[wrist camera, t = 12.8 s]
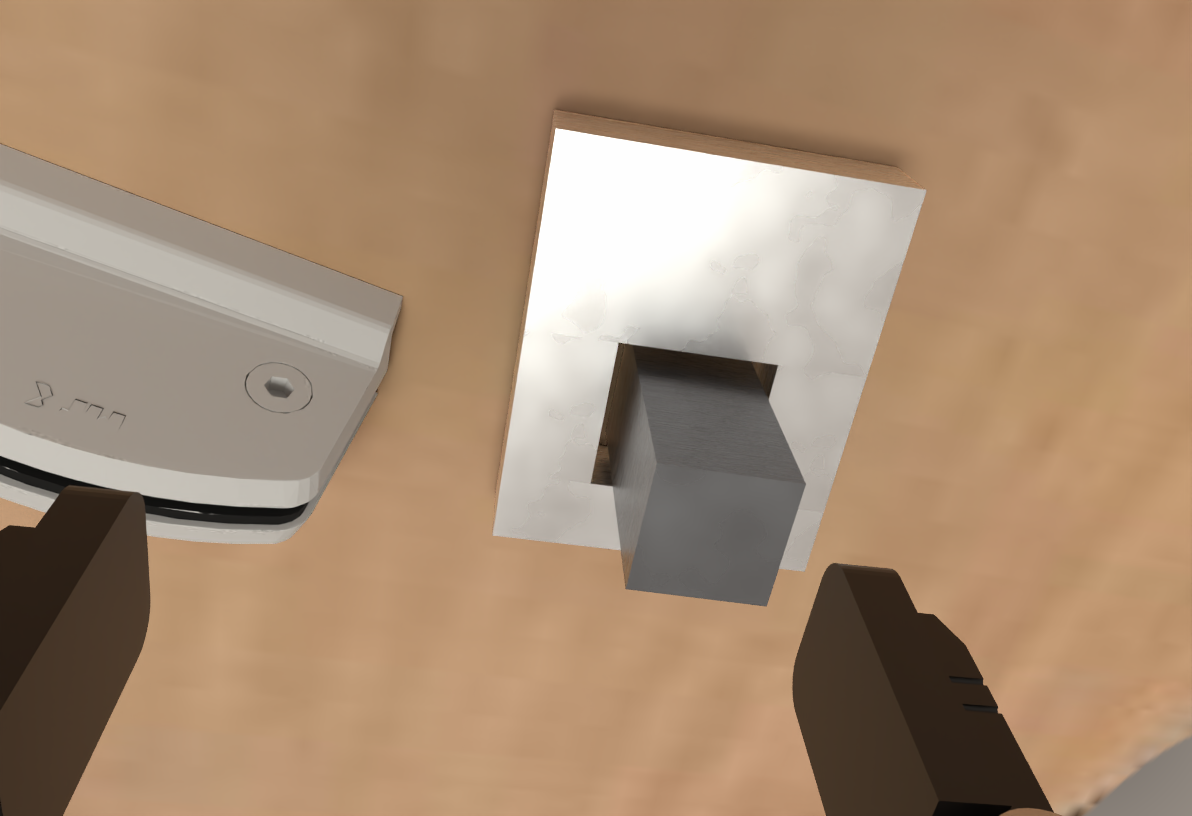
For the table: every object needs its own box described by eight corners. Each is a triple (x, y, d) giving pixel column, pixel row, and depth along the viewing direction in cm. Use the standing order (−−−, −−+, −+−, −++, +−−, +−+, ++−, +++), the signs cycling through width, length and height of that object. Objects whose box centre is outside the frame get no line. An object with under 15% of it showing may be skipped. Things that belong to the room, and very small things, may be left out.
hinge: (413, 300, 37) (341, 518, 30) (379, 384, 41) (307, 599, 34) (-82, 112, 34) (-296, 311, 27) (-77, 221, 37) (-266, 425, 30)
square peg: (628, 327, 38) (657, 463, 29) (743, 345, 39) (806, 484, 30) (605, 431, 40) (626, 589, 31) (716, 447, 41) (766, 606, 32)
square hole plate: (554, 109, 35) (556, 128, 32) (897, 166, 36) (926, 190, 33) (495, 492, 41) (492, 535, 38) (787, 527, 43) (804, 571, 40)
